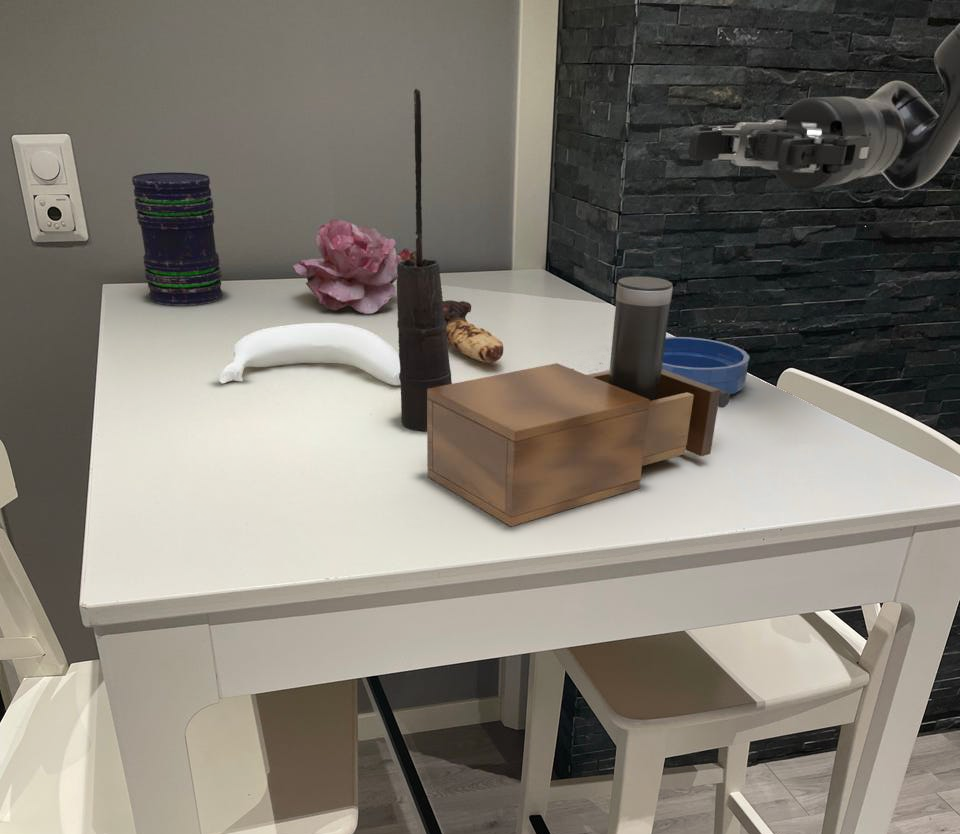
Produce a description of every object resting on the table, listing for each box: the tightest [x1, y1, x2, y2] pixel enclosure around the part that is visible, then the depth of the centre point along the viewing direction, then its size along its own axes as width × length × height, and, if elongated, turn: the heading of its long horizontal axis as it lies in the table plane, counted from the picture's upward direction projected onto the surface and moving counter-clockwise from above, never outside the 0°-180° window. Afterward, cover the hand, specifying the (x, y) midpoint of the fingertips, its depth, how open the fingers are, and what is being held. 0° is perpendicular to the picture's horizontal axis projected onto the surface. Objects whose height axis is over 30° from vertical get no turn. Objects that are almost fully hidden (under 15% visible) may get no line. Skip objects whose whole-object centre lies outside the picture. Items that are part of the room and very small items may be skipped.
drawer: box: [587, 369, 731, 467], centre depth 85 cm, size 17×10×6 cm, turn 126°
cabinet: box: [426, 362, 650, 527], centre depth 79 cm, size 14×12×8 cm
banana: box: [218, 322, 401, 386], centre depth 103 cm, size 5×19×15 cm
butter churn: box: [396, 88, 453, 432], centre depth 87 cm, size 9×10×28 cm
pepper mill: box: [608, 276, 674, 401], centre depth 82 cm, size 4×4×13 cm
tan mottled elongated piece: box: [443, 299, 504, 363], centre depth 112 cm, size 9×5×18 cm
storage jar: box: [131, 171, 223, 307], centre depth 129 cm, size 10×10×15 cm
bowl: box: [662, 336, 751, 395], centre depth 104 cm, size 12×12×4 cm
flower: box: [292, 218, 411, 315], centre depth 130 cm, size 15×15×10 cm
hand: (737, 150), depth 81 cm, fingers open, 8 cm apart
